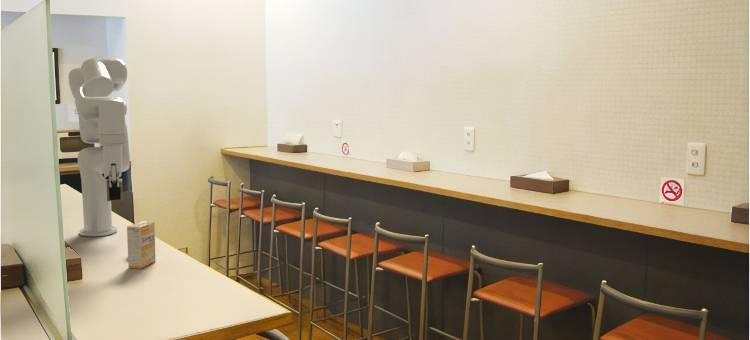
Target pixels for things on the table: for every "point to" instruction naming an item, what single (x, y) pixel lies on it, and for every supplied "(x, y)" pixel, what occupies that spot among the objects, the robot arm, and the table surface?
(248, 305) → the table surface
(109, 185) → the walnut block
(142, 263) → the supplement box
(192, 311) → the table surface
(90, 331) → the table surface
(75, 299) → the table surface
